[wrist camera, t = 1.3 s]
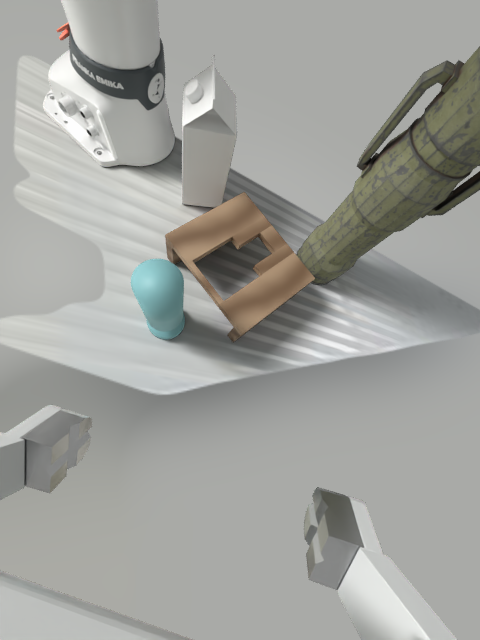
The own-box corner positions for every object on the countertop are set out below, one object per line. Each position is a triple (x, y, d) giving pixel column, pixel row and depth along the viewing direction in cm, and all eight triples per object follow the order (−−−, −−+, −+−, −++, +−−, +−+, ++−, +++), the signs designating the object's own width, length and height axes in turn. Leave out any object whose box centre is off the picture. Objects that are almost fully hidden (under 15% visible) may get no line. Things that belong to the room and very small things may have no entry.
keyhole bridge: (167, 257, 44) (165, 234, 38) (235, 218, 49) (244, 191, 42) (233, 342, 43) (242, 334, 36) (296, 293, 48) (315, 278, 41)
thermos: (338, 296, 50) (653, 110, 17) (282, 270, 48) (499, 14, 15) (348, 258, 52) (636, 33, 19) (295, 232, 51) (505, -54, 18)
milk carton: (220, 177, 51) (242, 61, 33) (221, 209, 49) (244, 105, 31) (182, 172, 49) (183, 47, 31) (181, 205, 47) (182, 92, 29)
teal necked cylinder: (140, 326, 41) (114, 287, 25) (162, 298, 42) (151, 245, 27) (171, 346, 41) (165, 320, 25) (191, 317, 43) (197, 276, 27)
